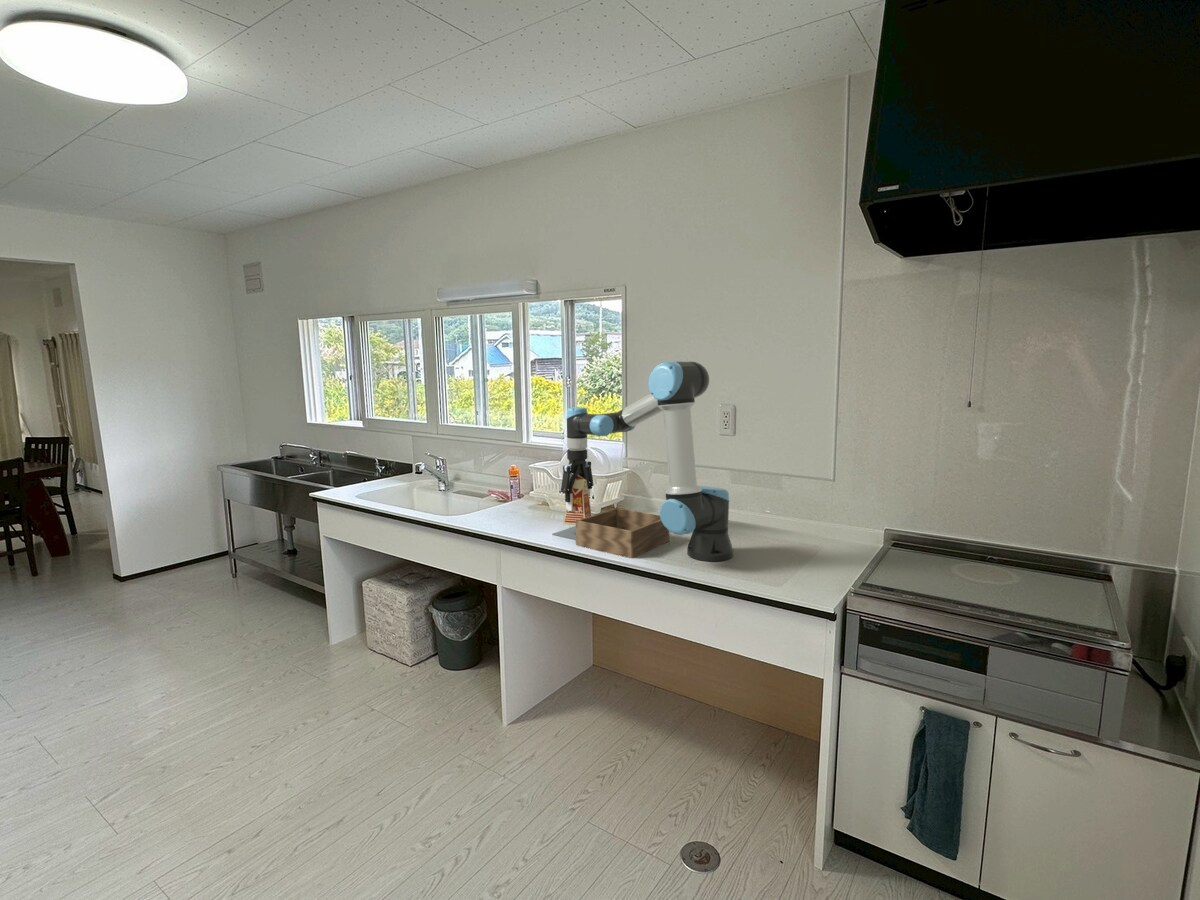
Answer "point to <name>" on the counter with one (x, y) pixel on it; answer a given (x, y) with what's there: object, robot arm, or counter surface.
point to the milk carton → (578, 502)
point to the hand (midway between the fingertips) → (577, 507)
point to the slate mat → (567, 533)
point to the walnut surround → (621, 532)
